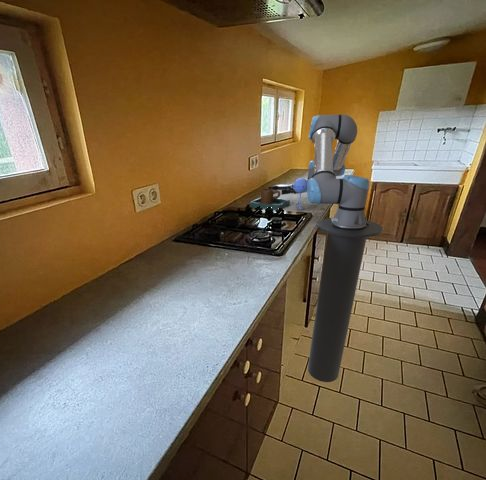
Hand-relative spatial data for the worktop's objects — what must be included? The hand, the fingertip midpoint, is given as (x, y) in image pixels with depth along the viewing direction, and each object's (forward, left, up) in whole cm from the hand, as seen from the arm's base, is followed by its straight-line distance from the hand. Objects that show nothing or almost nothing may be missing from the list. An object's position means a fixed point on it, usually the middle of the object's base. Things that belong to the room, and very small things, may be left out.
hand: (274, 190), depth 190 cm
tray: (+2, +3, -9) cm, 10 cm away
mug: (+1, +3, -9) cm, 9 cm away
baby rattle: (-18, +5, -6) cm, 20 cm away
